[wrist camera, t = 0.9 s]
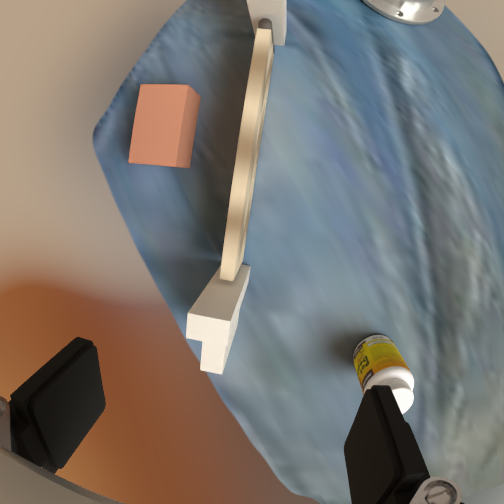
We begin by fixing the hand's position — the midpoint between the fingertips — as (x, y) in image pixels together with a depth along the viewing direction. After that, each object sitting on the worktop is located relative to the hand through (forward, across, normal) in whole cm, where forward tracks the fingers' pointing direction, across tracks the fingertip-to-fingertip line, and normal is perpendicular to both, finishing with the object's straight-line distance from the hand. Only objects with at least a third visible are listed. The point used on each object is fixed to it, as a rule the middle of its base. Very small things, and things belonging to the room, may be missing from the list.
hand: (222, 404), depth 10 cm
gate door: (+25, +2, -10) cm, 27 cm away
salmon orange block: (+26, +11, -11) cm, 30 cm away
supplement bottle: (+26, -15, +12) cm, 32 cm away
